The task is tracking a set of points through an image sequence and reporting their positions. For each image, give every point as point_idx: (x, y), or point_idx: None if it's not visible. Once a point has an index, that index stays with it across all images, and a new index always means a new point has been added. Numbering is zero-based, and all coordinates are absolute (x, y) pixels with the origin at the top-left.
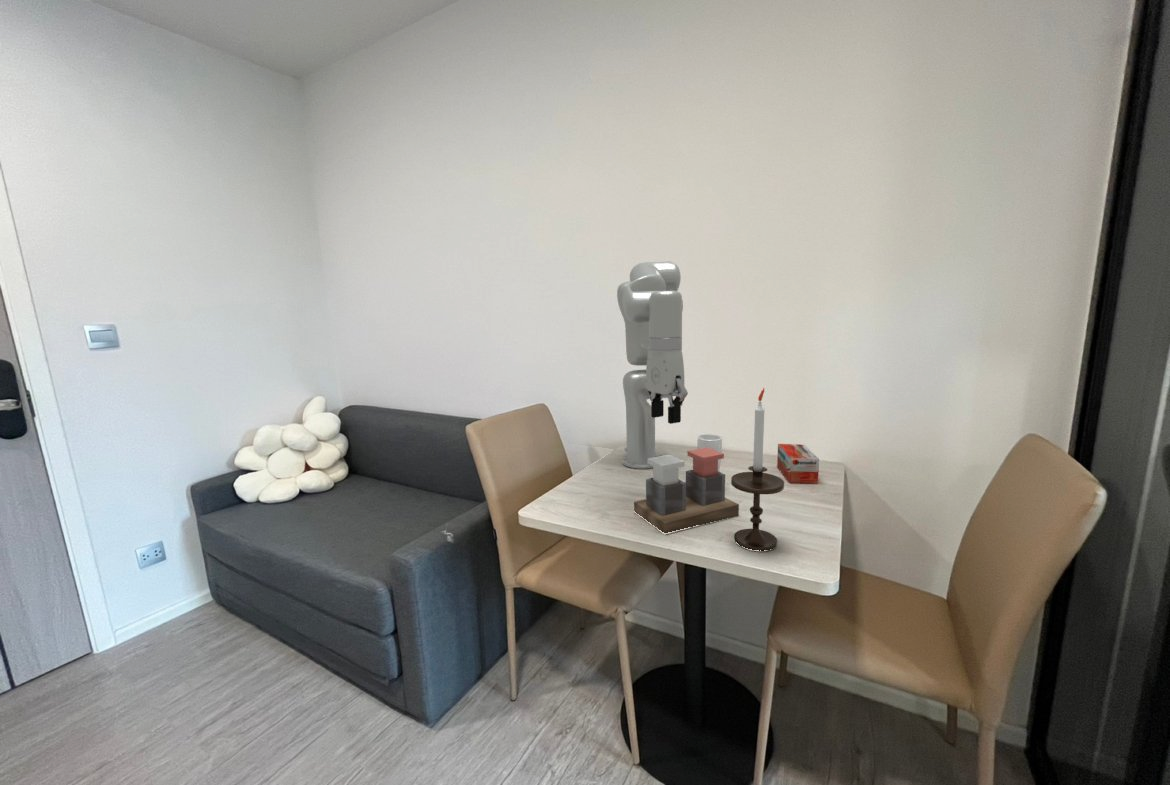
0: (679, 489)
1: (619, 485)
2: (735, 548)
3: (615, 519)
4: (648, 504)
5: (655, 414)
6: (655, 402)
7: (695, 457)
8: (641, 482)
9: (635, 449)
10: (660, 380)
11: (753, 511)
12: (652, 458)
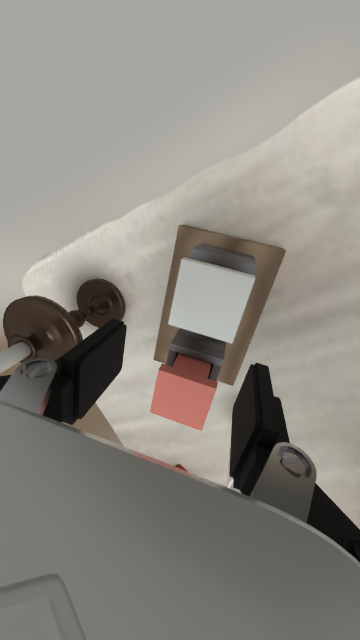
0: None
1: None
2: (103, 271)
3: (291, 197)
4: (245, 254)
5: (248, 381)
6: (248, 436)
7: (187, 374)
8: None
9: None
10: None
11: (72, 310)
12: (243, 288)
